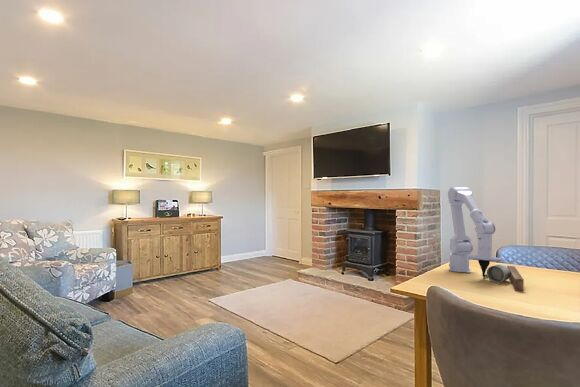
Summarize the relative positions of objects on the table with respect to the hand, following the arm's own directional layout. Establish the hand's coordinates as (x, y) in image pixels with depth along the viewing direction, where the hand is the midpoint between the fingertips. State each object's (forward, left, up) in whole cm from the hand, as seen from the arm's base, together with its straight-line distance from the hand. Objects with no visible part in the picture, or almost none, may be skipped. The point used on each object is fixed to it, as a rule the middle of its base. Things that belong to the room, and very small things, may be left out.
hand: (484, 276), depth 153 cm
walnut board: (+12, 0, -2) cm, 12 cm away
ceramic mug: (+5, +1, -2) cm, 5 cm away
